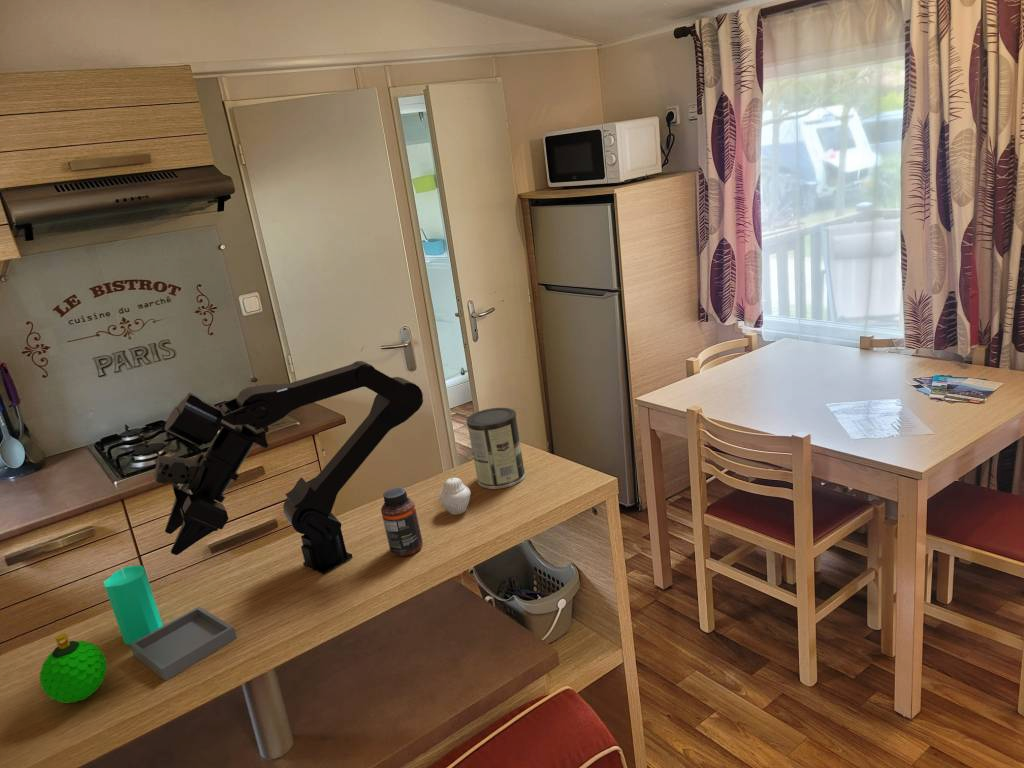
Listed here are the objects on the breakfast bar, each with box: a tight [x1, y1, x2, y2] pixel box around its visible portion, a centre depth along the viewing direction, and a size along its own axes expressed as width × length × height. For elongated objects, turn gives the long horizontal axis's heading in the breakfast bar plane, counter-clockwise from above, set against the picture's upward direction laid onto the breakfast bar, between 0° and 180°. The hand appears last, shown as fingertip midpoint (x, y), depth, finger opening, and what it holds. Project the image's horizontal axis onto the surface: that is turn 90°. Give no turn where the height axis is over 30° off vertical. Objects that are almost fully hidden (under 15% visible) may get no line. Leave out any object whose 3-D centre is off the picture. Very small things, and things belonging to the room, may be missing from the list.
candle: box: [102, 565, 164, 645], centre depth 118 cm, size 6×6×12 cm
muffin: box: [438, 477, 471, 516], centre depth 144 cm, size 6×6×7 cm
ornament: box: [39, 632, 108, 704], centre depth 104 cm, size 8×8×10 cm
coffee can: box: [465, 407, 526, 490], centre depth 155 cm, size 10×10×14 cm
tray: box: [129, 605, 237, 682], centre depth 114 cm, size 11×11×2 cm
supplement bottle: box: [380, 486, 424, 557], centre depth 132 cm, size 6×6×11 cm
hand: (170, 543), depth 119 cm, fingers open, 9 cm apart
